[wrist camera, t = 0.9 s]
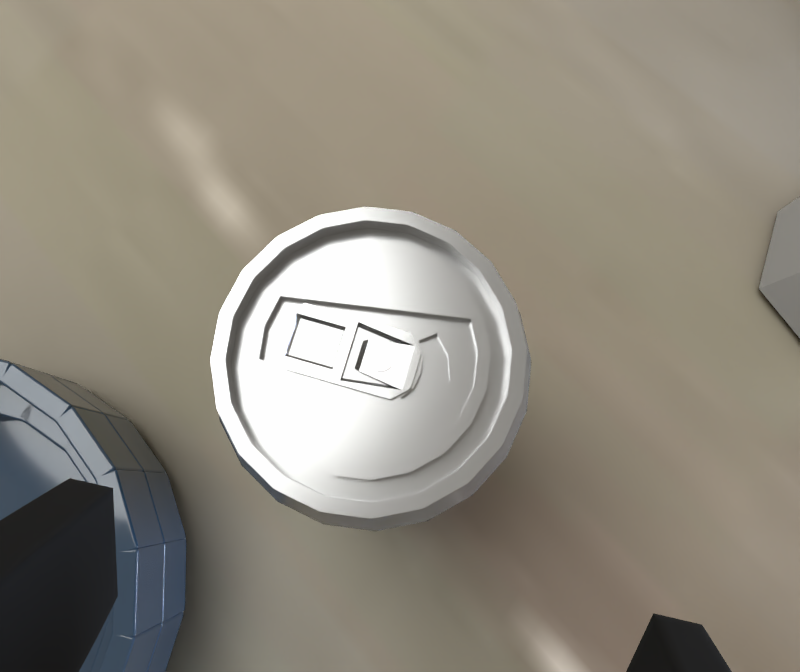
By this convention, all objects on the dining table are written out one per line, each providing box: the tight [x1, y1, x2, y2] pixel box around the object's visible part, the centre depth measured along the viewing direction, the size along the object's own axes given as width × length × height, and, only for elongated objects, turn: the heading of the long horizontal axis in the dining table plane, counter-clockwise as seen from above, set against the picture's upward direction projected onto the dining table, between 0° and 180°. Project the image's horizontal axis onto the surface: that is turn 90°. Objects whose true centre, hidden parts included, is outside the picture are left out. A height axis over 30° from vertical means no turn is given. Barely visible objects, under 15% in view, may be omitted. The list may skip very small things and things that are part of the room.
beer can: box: [210, 207, 531, 531], centre depth 17 cm, size 5×5×12 cm
